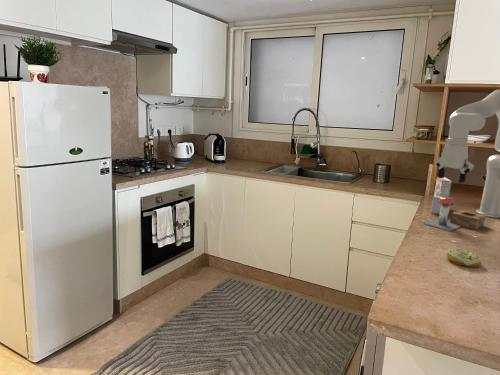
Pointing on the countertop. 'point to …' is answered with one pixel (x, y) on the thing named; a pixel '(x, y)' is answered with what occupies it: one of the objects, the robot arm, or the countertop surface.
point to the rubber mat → (448, 227)
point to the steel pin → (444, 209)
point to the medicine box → (436, 205)
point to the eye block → (467, 219)
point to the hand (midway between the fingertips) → (451, 180)
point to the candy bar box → (442, 187)
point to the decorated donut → (464, 257)
